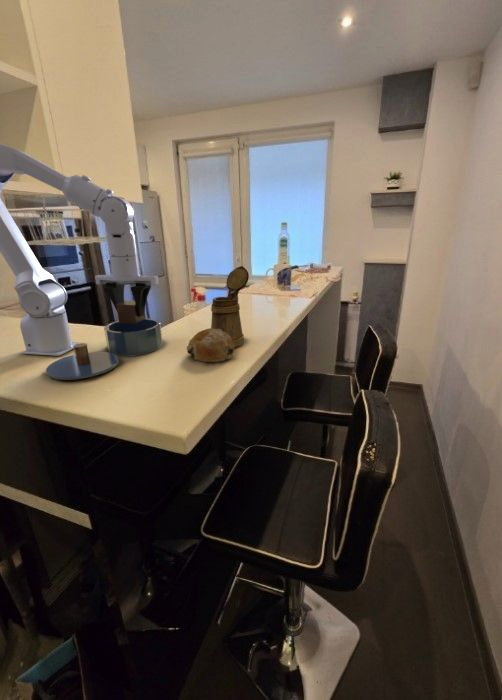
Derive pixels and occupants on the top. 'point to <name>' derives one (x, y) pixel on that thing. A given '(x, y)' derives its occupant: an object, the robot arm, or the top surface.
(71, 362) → the bowl lid
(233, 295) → the wooden mug
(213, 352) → the bread roll
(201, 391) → the top surface
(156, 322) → the bowl
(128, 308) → the block
